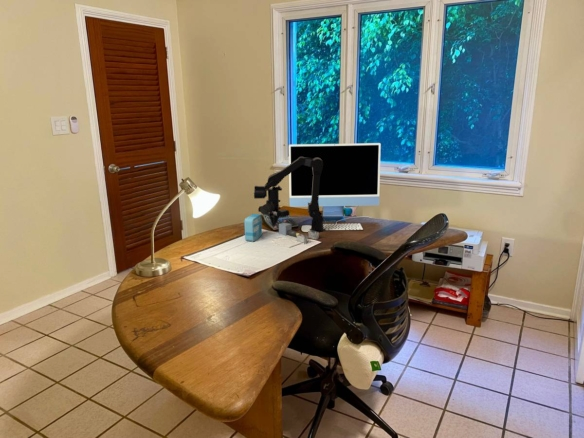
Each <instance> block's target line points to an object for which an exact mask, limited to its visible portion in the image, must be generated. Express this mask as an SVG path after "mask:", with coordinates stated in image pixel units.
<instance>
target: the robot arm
mask: <svg viewBox="0 0 584 438" xmlns="http://www.w3.org/2000/svg"><path fill="white" fill-rule="evenodd" d="M302 166H306V167H309V168H311V169H312V175H313V176H312V184H311V185H312V187H311V199H310V202H307V208H306V209H307V213H308V214H309V217H310V218H312V220H311V228H310V229H309V231H310V230H313V231H317V232H319V233H321V232H324V231H326V228H324V216H323V213H322V212H321V211H320V204H319V197H320V184H321V183H320V181H321V174H322V171H323V167H324V161H323V160H322V159H321V158H320V157H314V158H313V157H304V156H299V157H298V158H297V159H295V160H293V161H292V162H291V163H289V164H288V165H287V166H286V167H284V168H283V169H281V170H279V171H277V172H273V173H272V174H270V175H269V176H268V178H267V182H266V183H265V184H264V185H254V189H253V190H254V192H253V198H254V199H255V200H257V199H262V200H263V199H266V197H267V200H266V201H265V202H266V203H265V204H263V205H261V206H259V207H258V209H257V211H258V213H260V215H262V214H264V215H265V216H268V218H269V219H270V223H271V225H272V227H276V224H277V223H278V221H279V219H280V218H285V217H287V216H290V211H289V209H284V208H283V209H282V208H281V207H280V202H281V199H279V198H280V197H279V191H282V190H283V188H282V187H281V186H280V185H279V184H280V183H281V182H282V181H283V180H284V178H286V177H287V176H289V175H290V174H291V173H293V172H294V171H296V170H298V168H300V167H302Z"/></svg>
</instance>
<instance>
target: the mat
mask: <svg viewBox="0 0 584 438" xmlns="http://www.w3.org/2000/svg"><path fill="white" fill-rule="evenodd" d="M269 243H271V244H276V245H277V246H279V245H280V246H282V247H286V248H289V249H290V248H293V247H296V246H299V245H300V244H303V243H302V242H298V241H297V240H293V239H291V238H287V237H283V236H281V237H278V238H274V239H271V240H269ZM298 244H299V245H298Z"/></svg>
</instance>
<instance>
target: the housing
mask: <svg viewBox="0 0 584 438" xmlns="http://www.w3.org/2000/svg"><path fill="white" fill-rule="evenodd" d="M319 235H320V232H317V231H313V230H310V229H309V230H308V235H306V234H302V233H300V234H299V235H297V237H296V241H298V242H302V243H301V244H303V243H304V244H303V245H305V244H308V242H309V241H308V239H312V240H318V239H319V237H320V236H319Z"/></svg>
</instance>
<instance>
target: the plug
mask: <svg viewBox="0 0 584 438" xmlns="http://www.w3.org/2000/svg"><path fill="white" fill-rule="evenodd" d="M278 234H279V235H282V236H285V237H286V236H291V237H294V238H297V235H299V234H301V233H299V231H296V230H292V223H289V222H281V223H279V224H278Z"/></svg>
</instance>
